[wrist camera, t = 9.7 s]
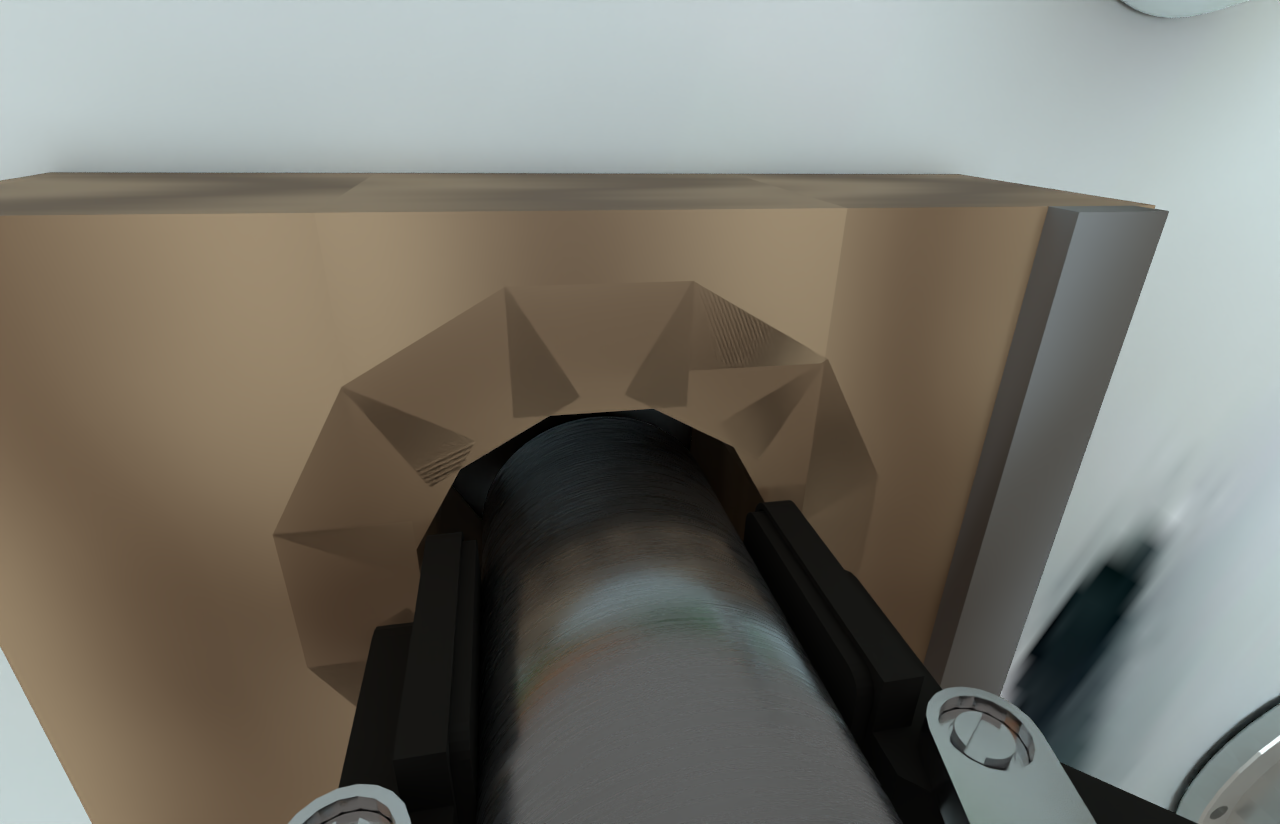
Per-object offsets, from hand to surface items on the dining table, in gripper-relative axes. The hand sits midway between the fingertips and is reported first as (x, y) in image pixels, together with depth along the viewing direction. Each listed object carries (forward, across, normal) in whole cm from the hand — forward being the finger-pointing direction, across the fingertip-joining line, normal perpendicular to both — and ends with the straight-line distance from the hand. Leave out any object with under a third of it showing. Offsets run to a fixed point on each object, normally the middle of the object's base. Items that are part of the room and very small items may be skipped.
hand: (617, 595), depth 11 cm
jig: (+6, 0, 0) cm, 6 cm away
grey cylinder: (+2, 0, 0) cm, 2 cm away
